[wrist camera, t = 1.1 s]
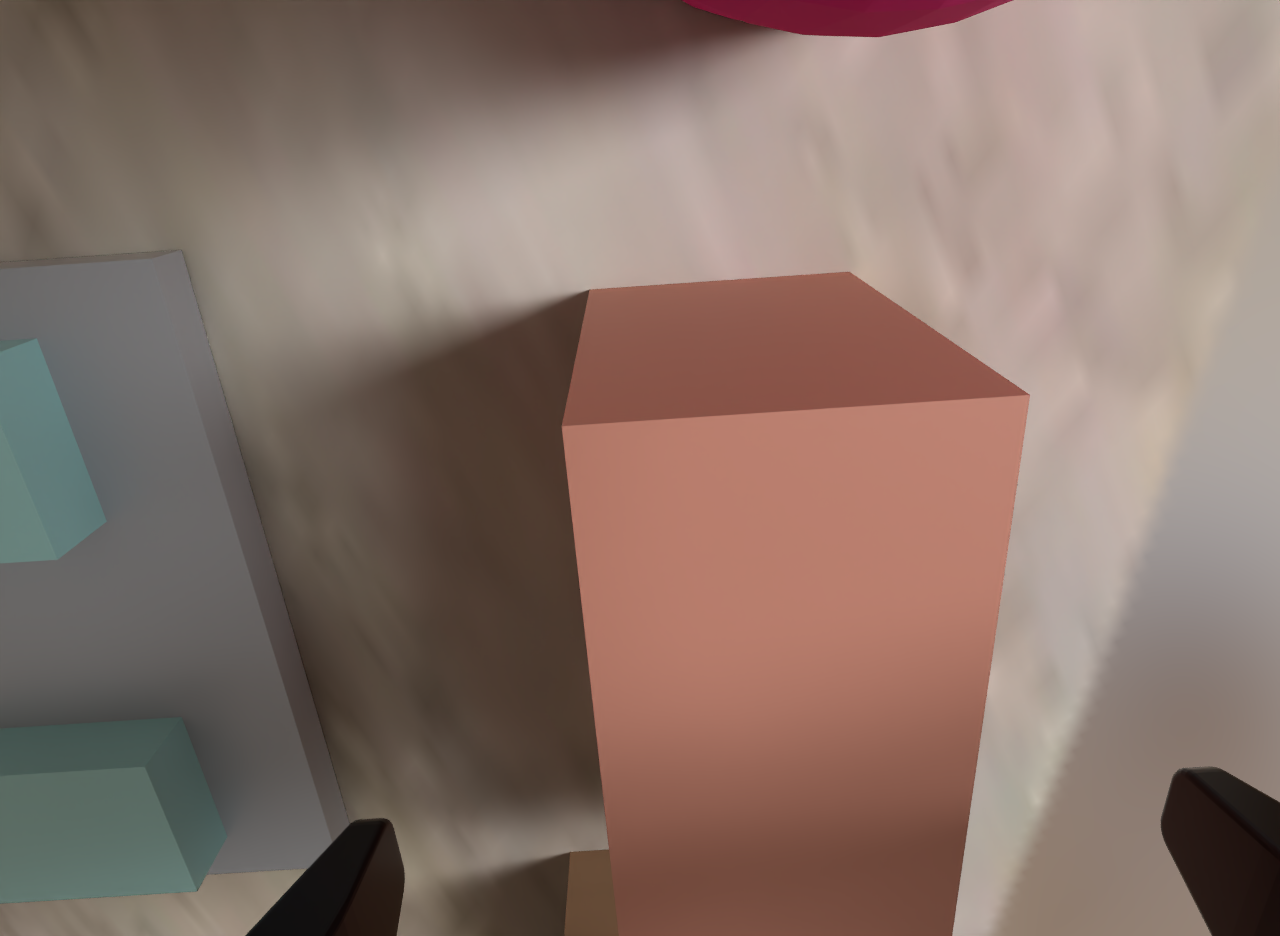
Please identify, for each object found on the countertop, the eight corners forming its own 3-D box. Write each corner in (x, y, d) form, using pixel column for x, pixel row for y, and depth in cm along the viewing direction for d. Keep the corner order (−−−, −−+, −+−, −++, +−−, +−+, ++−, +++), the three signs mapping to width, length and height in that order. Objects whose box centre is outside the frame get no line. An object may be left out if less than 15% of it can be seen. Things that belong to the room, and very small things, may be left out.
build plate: (352, 832, 17) (318, 921, 15) (-24, 856, 17) (-104, 948, 15) (181, 249, 12) (99, 274, 10) (-350, 286, 12) (-528, 317, 10)
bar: (826, 762, 16) (930, 1090, 11) (633, 773, 16) (637, 1105, 11) (847, 270, 12) (1029, 395, 7) (589, 289, 12) (561, 425, 7)
